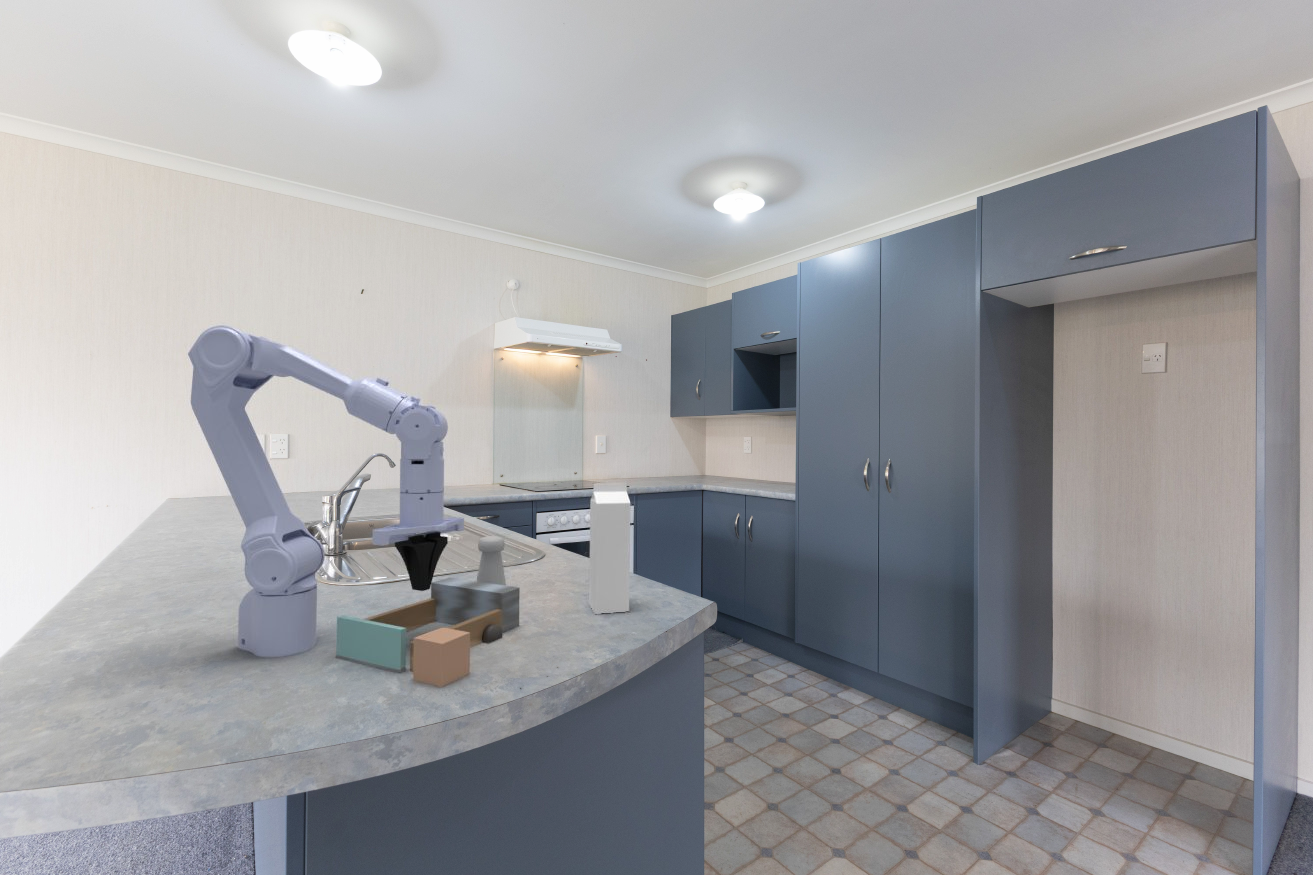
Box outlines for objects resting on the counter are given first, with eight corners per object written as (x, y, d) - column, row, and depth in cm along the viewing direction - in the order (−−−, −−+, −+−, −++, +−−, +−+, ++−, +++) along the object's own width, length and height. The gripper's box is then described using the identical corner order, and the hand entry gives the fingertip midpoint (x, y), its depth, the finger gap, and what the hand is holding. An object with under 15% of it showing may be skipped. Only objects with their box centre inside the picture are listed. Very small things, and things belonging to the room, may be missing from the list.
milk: (629, 612, 102) (631, 484, 102) (594, 615, 100) (596, 484, 100) (621, 602, 108) (623, 481, 108) (588, 605, 106) (590, 481, 106)
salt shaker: (498, 620, 96) (499, 540, 96) (465, 618, 97) (466, 538, 97) (513, 610, 102) (514, 535, 102) (483, 608, 103) (484, 533, 103)
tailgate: (335, 661, 77) (336, 617, 77) (342, 658, 78) (343, 615, 78) (399, 676, 72) (400, 629, 72) (406, 674, 73) (406, 627, 73)
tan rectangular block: (413, 688, 70) (413, 637, 70) (441, 675, 74) (442, 627, 74) (441, 696, 68) (442, 643, 68) (469, 681, 72) (470, 632, 72)
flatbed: (331, 658, 79) (332, 607, 79) (443, 618, 97) (444, 576, 97) (423, 680, 72) (423, 624, 72) (525, 633, 90) (525, 588, 90)
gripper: (400, 497, 74) (399, 605, 74) (480, 489, 88) (479, 581, 88) (361, 494, 77) (360, 598, 77) (444, 487, 91) (443, 576, 91)
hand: (421, 589), depth 83 cm, fingers closed
